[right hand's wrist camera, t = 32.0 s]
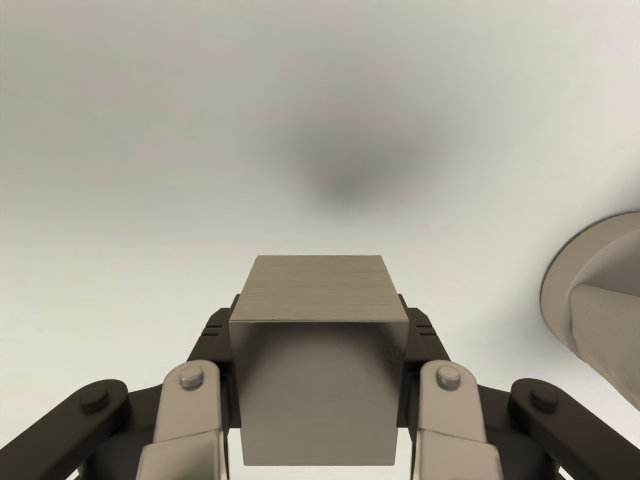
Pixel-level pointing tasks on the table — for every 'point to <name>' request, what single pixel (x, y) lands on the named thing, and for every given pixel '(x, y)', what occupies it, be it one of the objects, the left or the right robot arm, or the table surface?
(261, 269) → the brick
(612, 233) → the bust sculpture
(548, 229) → the table surface
